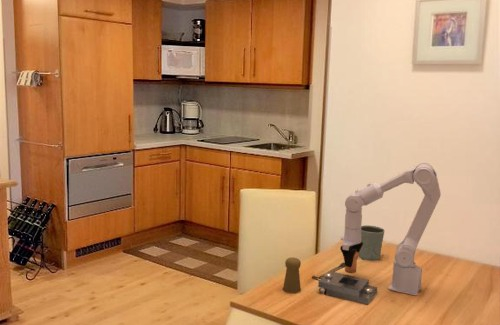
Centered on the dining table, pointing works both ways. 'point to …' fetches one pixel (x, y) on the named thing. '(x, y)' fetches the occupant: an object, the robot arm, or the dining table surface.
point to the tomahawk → (329, 271)
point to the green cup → (371, 242)
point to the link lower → (363, 298)
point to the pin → (354, 264)
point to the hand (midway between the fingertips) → (350, 264)
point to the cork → (292, 276)
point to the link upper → (335, 283)
